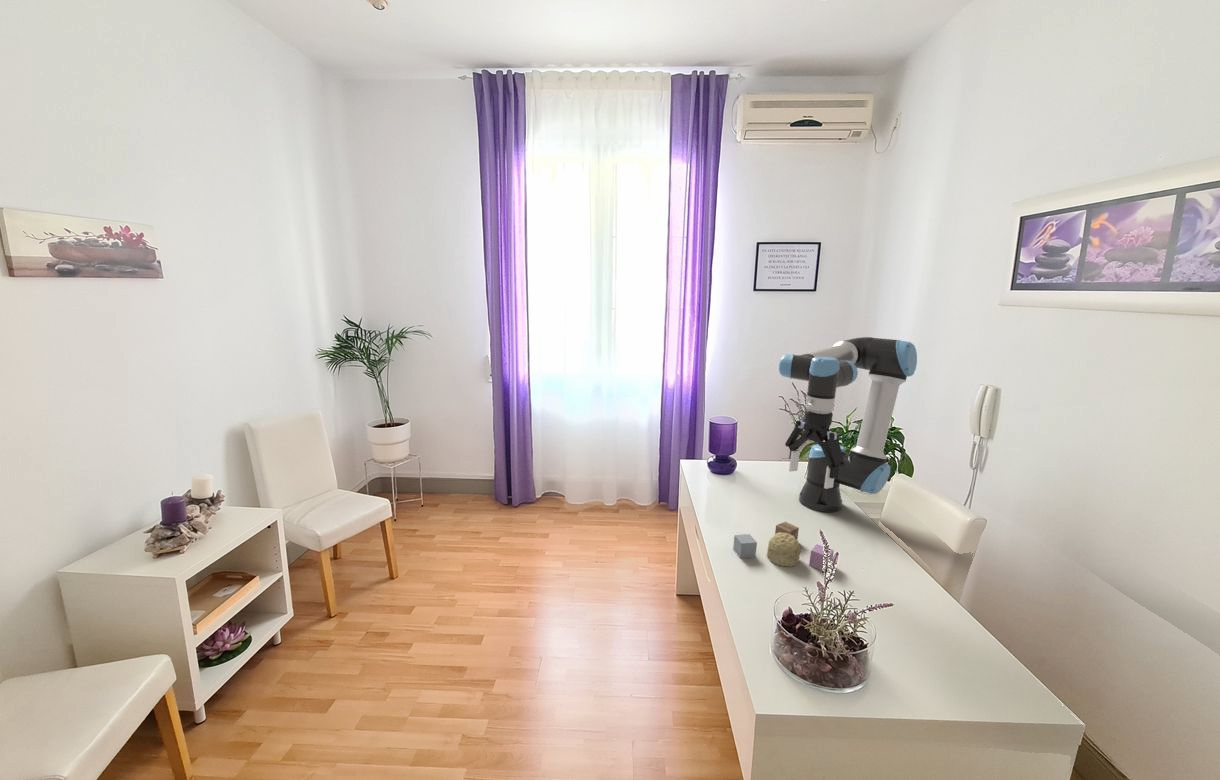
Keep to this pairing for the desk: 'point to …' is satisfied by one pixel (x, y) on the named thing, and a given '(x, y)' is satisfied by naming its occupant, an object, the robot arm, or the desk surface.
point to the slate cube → (745, 546)
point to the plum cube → (818, 556)
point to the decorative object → (783, 549)
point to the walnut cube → (787, 529)
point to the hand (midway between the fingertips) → (810, 478)
